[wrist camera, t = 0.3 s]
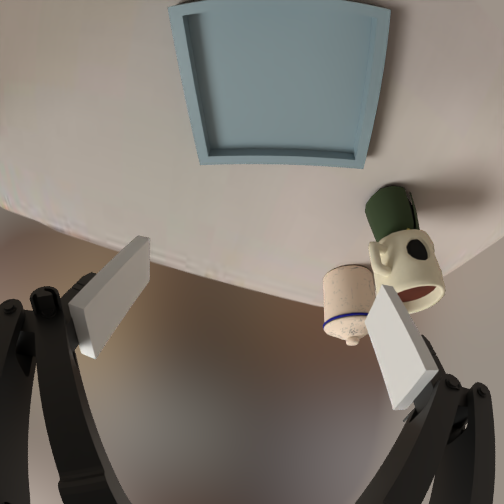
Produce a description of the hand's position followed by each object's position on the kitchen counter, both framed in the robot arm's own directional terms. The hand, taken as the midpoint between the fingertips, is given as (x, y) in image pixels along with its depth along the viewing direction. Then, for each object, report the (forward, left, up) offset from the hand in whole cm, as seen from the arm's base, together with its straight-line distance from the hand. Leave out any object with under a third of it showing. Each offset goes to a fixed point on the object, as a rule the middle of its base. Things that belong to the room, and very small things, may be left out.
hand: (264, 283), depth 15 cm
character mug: (+9, +14, -17) cm, 24 cm away
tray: (-5, +1, -16) cm, 17 cm away
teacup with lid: (+28, +14, -17) cm, 36 cm away
